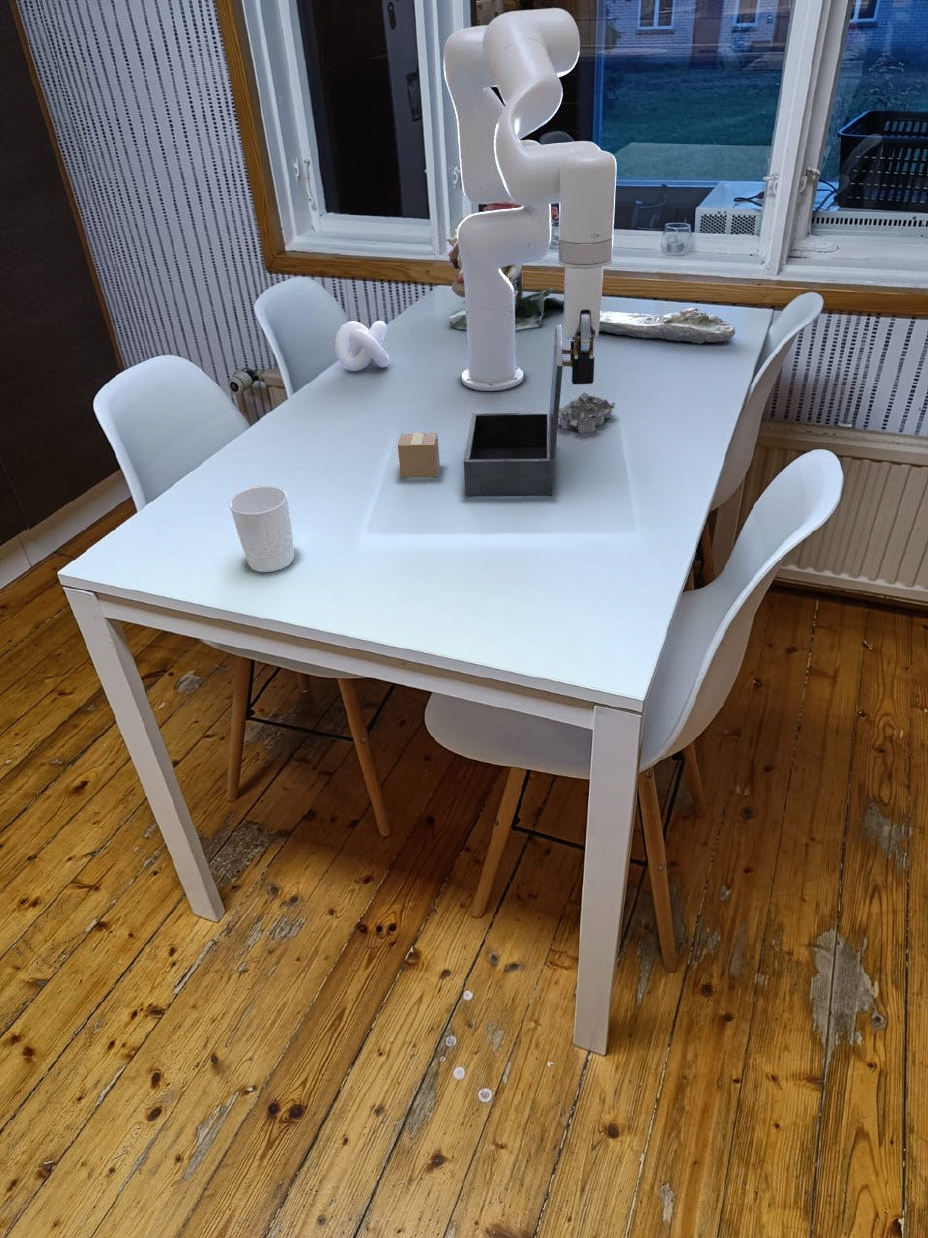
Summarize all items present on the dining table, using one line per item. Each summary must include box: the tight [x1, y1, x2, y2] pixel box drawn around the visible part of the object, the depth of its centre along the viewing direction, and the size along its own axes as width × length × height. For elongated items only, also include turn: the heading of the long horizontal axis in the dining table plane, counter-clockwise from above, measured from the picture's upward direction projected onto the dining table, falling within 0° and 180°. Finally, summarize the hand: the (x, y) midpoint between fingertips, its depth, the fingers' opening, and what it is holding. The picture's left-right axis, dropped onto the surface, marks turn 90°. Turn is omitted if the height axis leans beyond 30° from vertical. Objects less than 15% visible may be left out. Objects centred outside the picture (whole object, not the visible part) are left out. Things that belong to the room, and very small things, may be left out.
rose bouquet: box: [446, 201, 564, 331], centre depth 198 cm, size 26×29×30 cm
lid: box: [548, 323, 574, 459], centre depth 133 cm, size 14×18×5 cm
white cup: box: [228, 485, 295, 573], centre depth 122 cm, size 8×8×10 cm
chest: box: [463, 411, 553, 498], centre depth 140 cm, size 14×18×7 cm
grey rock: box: [558, 392, 616, 434], centre depth 155 cm, size 11×8×4 cm
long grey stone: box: [599, 307, 736, 345], centre depth 191 cm, size 35×5×10 cm
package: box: [397, 432, 441, 478], centre depth 142 cm, size 6×4×7 cm
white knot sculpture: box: [334, 320, 390, 372], centre depth 183 cm, size 11×12×9 cm
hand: (581, 373), depth 131 cm, fingers closed on lid, 6 cm apart
